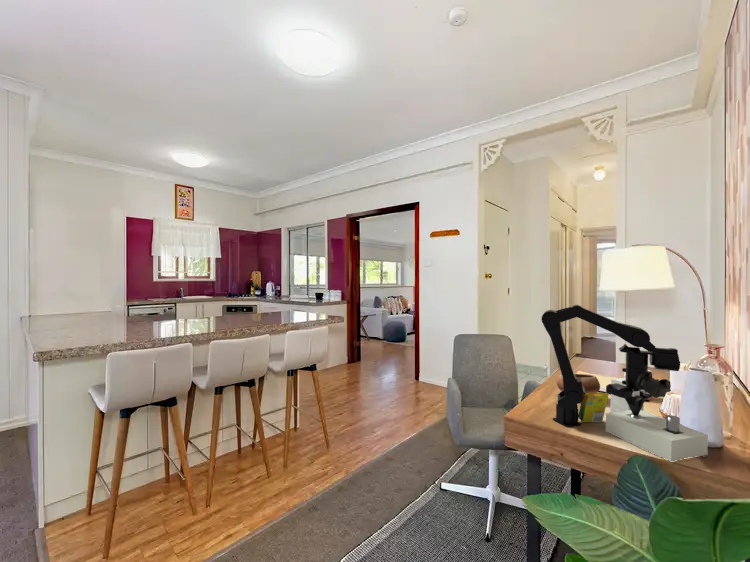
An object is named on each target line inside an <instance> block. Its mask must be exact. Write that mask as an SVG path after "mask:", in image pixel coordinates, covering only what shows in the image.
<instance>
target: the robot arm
mask: <svg viewBox="0 0 750 562" xmlns="http://www.w3.org/2000/svg"><path fill="white" fill-rule="evenodd" d="M540 318H541V319H540V320H541V323H542V325H543V327H544V329H545V331H546V332H547V334H548V336H549V337H550V339H551V343H552V345H553V350H554V353H555V356H556V359H557V364H558V366H559V369H560V372H561V373H560V374H562V376H563V387H564V390H563V391H560V392H559V393H558V394H557V402H556V404H555V406H556V409H555V417H552V421H555V422H557V423H558V424H560V425H563V426H564V427H567V428H568V427H569V428H570V427H574V426H581V425H582V422H581V421H580V422H579V418H578V414H579V404H581V402H582V401H583V399H584V395H583V394H585V388H584V387H583V385H582V381H581V377H580V378H576V376H575V374H574V373H575V372H574V370H573V367H572V366H573V365H572V364H571V360H570V358H569V353H568V350H567V348H566V347H567V346H566V343H565V340H564V338H563V332H562V324H561V323H563V322H567V321H570V320H572V319H576V318H578V319H581V320H583V321H585V322H587V323H590V324H592V325H594V326H597V327H599V328H601V329H604V330H606V331H608V332H611V333H613V334H614V335H616V336H617V337H619V338H621V339H622V340H623V341H625V342H627V343H629V344H630V345H631V346H628V345H627V344H626V343H624V344H623V345H622V346H621V347H619V348H618V350H619V352H620V353H625V367H622V372H623V373H624V372H626V379H625V380H624V381H622V384H625V385H626V386H624V385H621V384H617V383H615V384H611V383H609V384H607V385H606V386H605V393H609V394H610V395H611V394H612V395H615V396H618V397H620V398H625V400H626V402H627V403H628V405H629V407H630V409H631V411H632V413H633V415H635V416H638V415H639V412H640V410H641V408H642V406H643V404H645V402H646V399H648V398H650V397H652V398H655V399H656V398H657V399H658V398H665V397H666V394H667V393H669V392H671V391H672V389H671V388H672V387H671V381H670V380H669V379H667V378H663V379H660V380H659V379H658V378H657V379H656V378H654V377H653V372H652V373H651V372H650V371H651V370H650V371H648V370H649V364H650V366H653V368H654V369H655V370H662V371H663V370H664V371H671V372H679V371H680V368H681V361H680V355H679V350H678V349H677V348H674V347H673V348H672V347H670V348H665V347H656V345H655V344H654V343H652V342H651V337H650V336H651V335H649V333H648V332H647V331H646V330H644V329H643V328H641V327H638V326H636V325H631V324H628V323H622V322H618V321H616V320H613V319H611V318H608V317H606V316H603V315H601V314H599V313H597V312H594V311H592V310H590V309H587V308H585V307H583V306H582V305H579V304H574V305H572V306H568V307H565V308H561V309H557V310H553V309H548V310H545V311H544V312H543V314H542V316H541V317H540ZM633 346H634V347H633ZM640 348H643V349H644V350H641V349H640ZM609 394H608V395H609Z"/></svg>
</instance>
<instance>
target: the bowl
mask: <svg viewBox="0 0 750 562" xmlns="http://www.w3.org/2000/svg"><path fill="white" fill-rule="evenodd" d="M574 374H575V376H576V378H580V377H581V381H582V385H583V387H584V388H585V393H599V391H600V389H601V384H600V382H599V379H598V378H597V376H595V375H593V374H588V373H576V372H574ZM556 386H557V387H558V390H560V392H562V391H563V390H564V387H563V376H562V373H560V374H559V376H558V377H557V380H556Z"/></svg>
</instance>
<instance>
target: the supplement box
mask: <svg viewBox="0 0 750 562" xmlns="http://www.w3.org/2000/svg"><path fill="white" fill-rule="evenodd" d="M625 379H626V378H624V377H622V378H621V377H620V378H611V379H610V384H615V383H617V384H621V385H624V386H626V385H625V384H622V381H624V380H625ZM644 404H645V403H644ZM644 404H643V406H642V408H641V410H643V411H644V407H645V406H644ZM627 410H631V409H630V407H629V405H628V403H627V402H626V400H625V398H620V397H618V396H615V395H612V394H610V411H609V413H611V412H619V411H627Z"/></svg>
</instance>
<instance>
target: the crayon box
mask: <svg viewBox="0 0 750 562" xmlns="http://www.w3.org/2000/svg"><path fill="white" fill-rule="evenodd" d="M583 395H584V399H583V401H582V402H581V403H580V406H579V409H578V420H579V421H580V422H581V423H603V420H604V416H605V411H606V408H607V403H608V398H609V393H607V392H597V393H585V394H583Z"/></svg>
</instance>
